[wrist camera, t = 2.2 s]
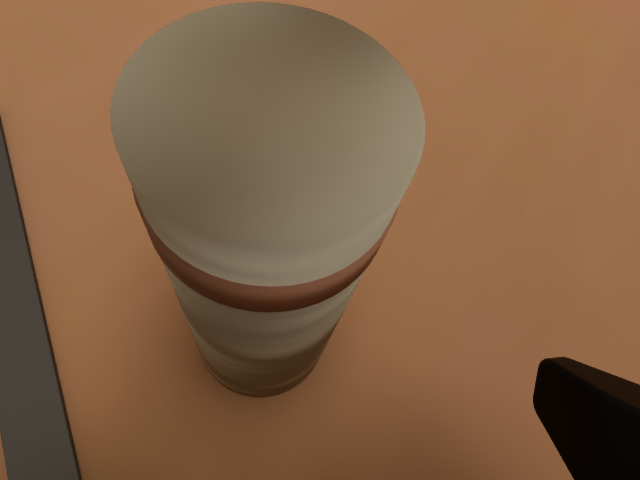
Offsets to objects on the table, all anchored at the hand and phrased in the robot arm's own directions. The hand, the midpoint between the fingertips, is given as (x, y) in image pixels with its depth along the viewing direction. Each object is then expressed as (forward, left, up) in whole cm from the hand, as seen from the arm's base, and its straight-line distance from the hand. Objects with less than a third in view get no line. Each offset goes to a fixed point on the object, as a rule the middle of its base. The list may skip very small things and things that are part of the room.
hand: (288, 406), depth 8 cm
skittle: (+2, -4, -11) cm, 12 cm away
